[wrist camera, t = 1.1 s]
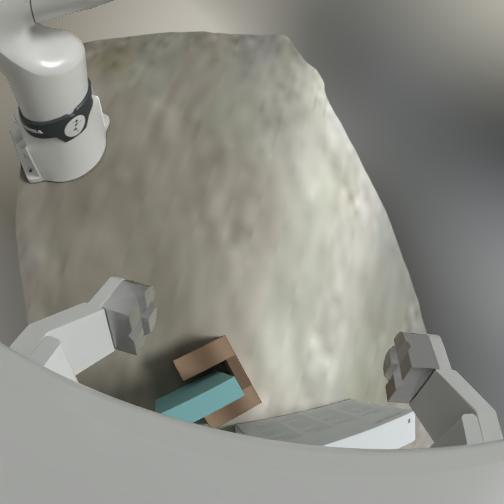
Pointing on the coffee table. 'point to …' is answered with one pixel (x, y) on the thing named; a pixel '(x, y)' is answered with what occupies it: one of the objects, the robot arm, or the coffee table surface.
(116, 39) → the coffee table surface
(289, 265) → the coffee table surface
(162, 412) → the teal rectangular block
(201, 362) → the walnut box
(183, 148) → the coffee table surface
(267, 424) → the skincare box
